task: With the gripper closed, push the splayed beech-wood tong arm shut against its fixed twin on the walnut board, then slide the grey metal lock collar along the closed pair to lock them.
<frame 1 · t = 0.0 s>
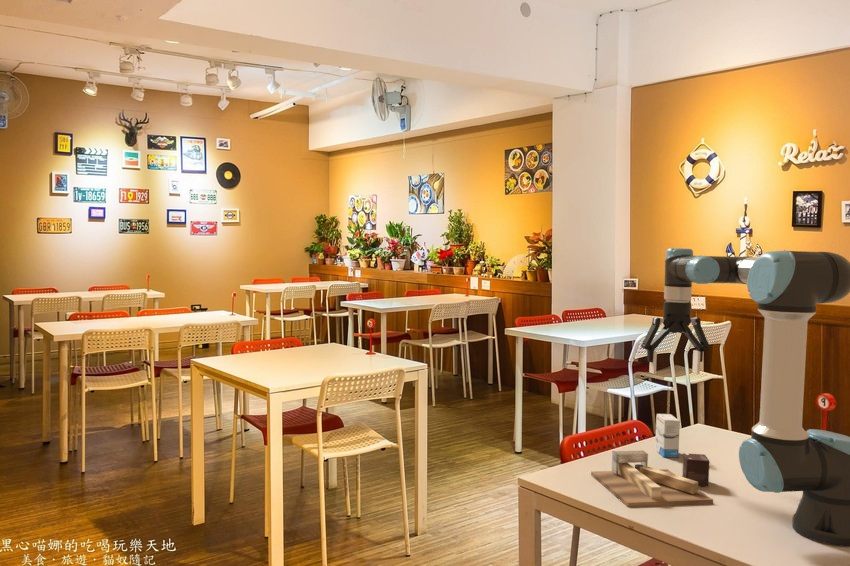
hand: (674, 373, 208), 28 cm above the table, fingers open, 13 cm apart
tong arm: (664, 478, 191), point 3 cm above the table, hinge at 30.0°
box: (695, 483, 196), on the table
fixed tong arm: (637, 487, 190), resting on walnut board
lock collar: (629, 462, 199), point 4 cm above the table, slide at 0.0 cm
walnut board: (648, 488, 190), on the table
ink box: (666, 454, 222), on the table
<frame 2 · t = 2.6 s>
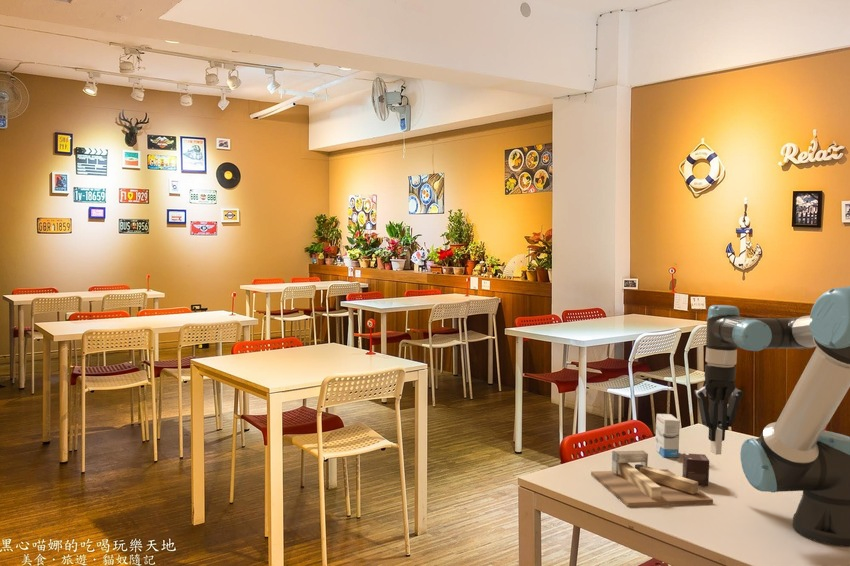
hand: (715, 452, 186), 11 cm above the table, fingers closed
nothing on the table moved.
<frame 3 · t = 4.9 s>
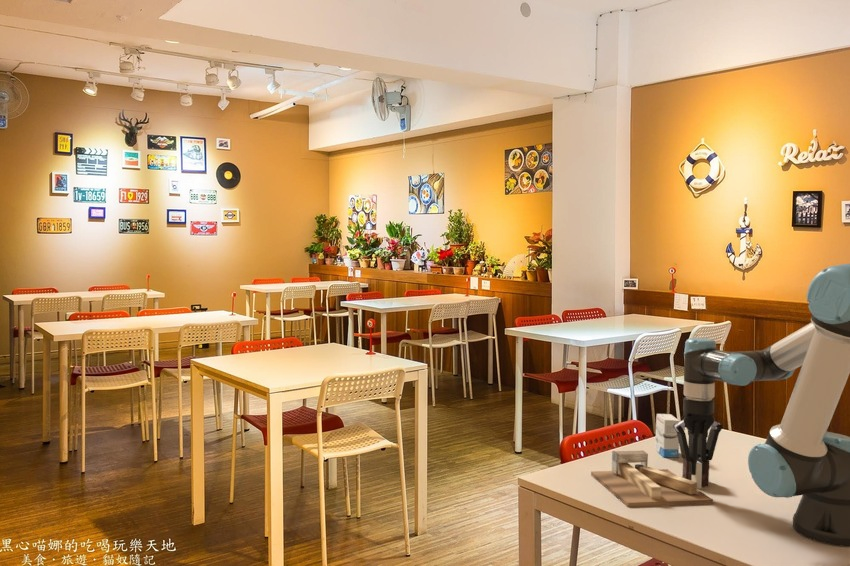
hand: (696, 486, 185), 2 cm above the table, fingers closed
tong arm: (663, 478, 190), point 3 cm above the table, hinge at 27.7°, touching gripper
everything else where it was.
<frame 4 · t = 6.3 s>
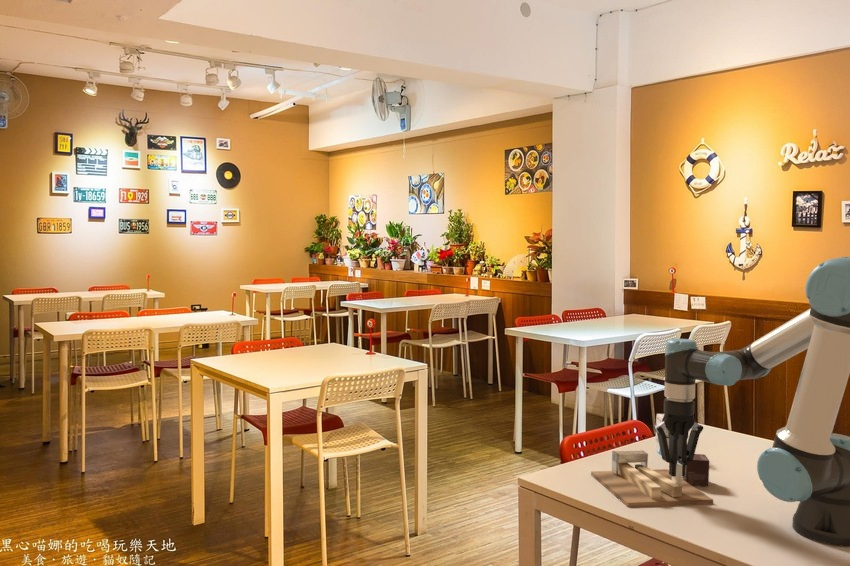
hand: (676, 488, 184), 2 cm above the table, fingers closed
tong arm: (656, 479, 189), point 3 cm above the table, hinge at 8.1°, touching gripper
everything else where it was.
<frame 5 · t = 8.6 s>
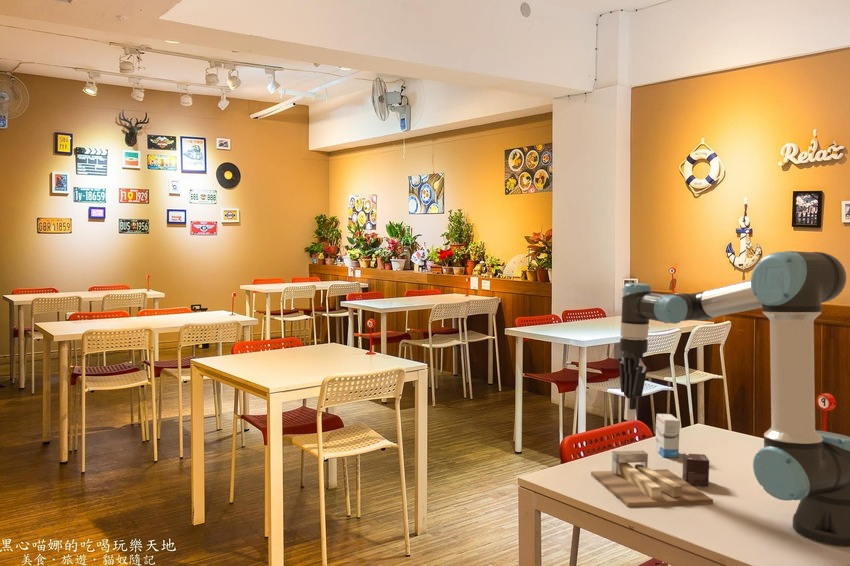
hand: (629, 419, 202), 16 cm above the table, fingers closed
tong arm: (656, 479, 189), point 3 cm above the table, hinge at 8.0°
everything else where it was.
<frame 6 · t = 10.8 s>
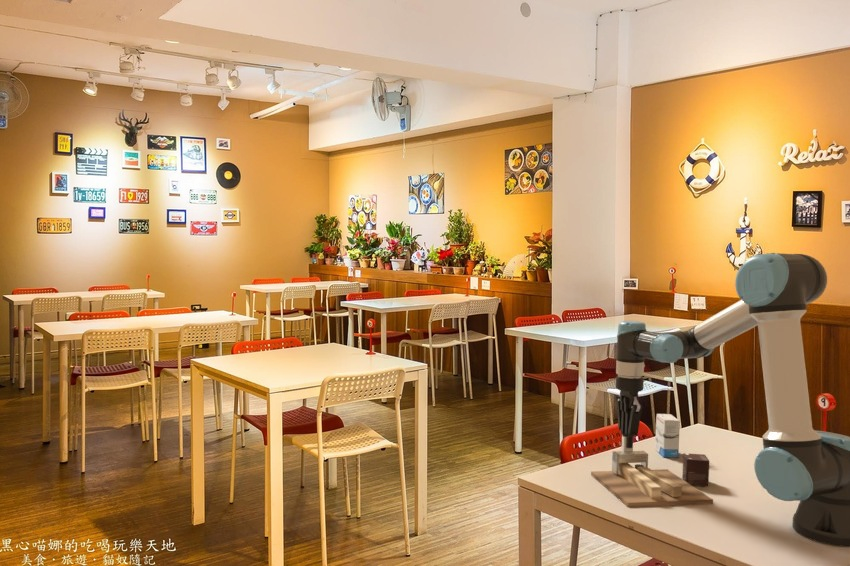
hand: (626, 457, 201), 5 cm above the table, fingers closed
lock collar: (629, 462, 199), point 4 cm above the table, slide at 0.2 cm, touching gripper
everything else where it was.
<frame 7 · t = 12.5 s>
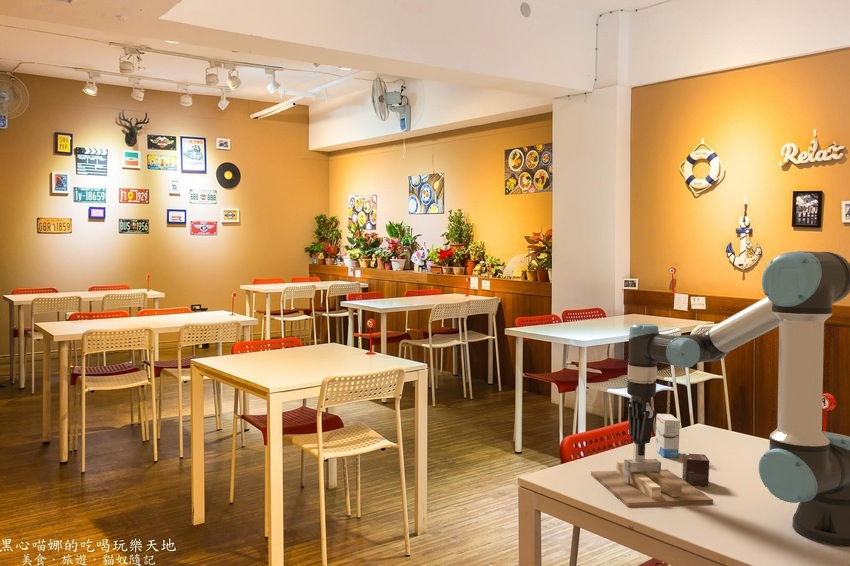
hand: (638, 465, 194), 5 cm above the table, fingers closed
lock collar: (642, 471, 191), point 4 cm above the table, slide at 7.7 cm, touching gripper
everything else where it was.
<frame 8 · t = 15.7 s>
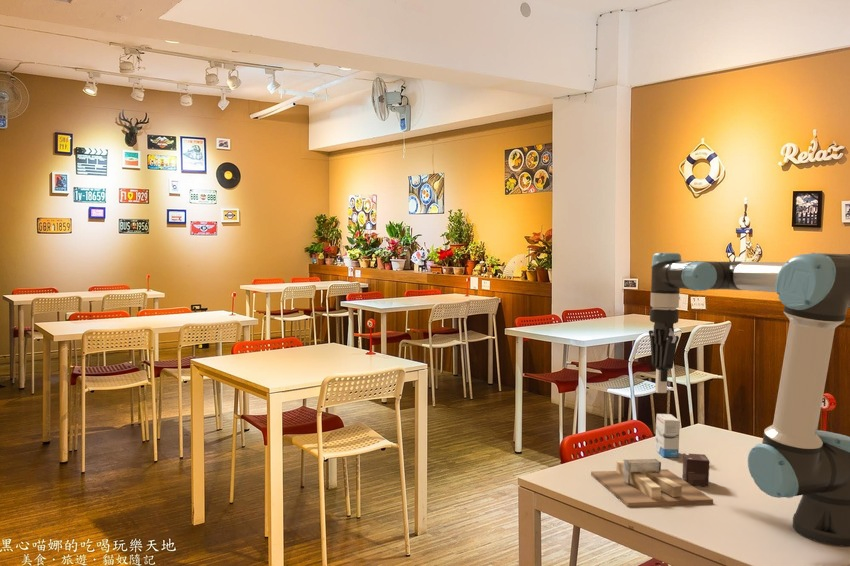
hand: (661, 392, 197), 24 cm above the table, fingers closed
lock collar: (642, 471, 191), point 4 cm above the table, slide at 7.7 cm
everything else where it was.
at the end: tong arm at +8° (first picture: +30°); lock collar slide at 7.7 cm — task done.
